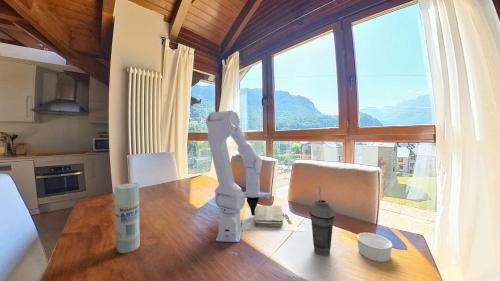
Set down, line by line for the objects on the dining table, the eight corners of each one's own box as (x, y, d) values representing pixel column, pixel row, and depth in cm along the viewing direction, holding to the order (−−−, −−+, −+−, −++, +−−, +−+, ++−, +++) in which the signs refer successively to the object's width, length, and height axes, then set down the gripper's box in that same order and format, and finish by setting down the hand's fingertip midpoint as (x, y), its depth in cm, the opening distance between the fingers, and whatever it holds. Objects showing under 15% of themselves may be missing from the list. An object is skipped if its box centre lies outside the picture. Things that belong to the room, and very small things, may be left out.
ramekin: (350, 246, 61) (350, 232, 61) (377, 244, 62) (377, 231, 62) (369, 265, 53) (369, 249, 52) (400, 263, 53) (400, 247, 53)
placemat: (304, 231, 71) (304, 231, 71) (240, 229, 73) (240, 228, 73) (296, 209, 92) (296, 209, 92) (246, 208, 94) (246, 207, 94)
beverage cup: (318, 260, 54) (318, 190, 54) (304, 246, 61) (304, 184, 61) (340, 256, 56) (340, 188, 56) (324, 242, 63) (324, 182, 63)
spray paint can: (135, 239, 66) (134, 182, 66) (143, 246, 62) (142, 185, 62) (113, 248, 61) (111, 186, 61) (120, 256, 57) (118, 189, 57)
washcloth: (253, 227, 74) (253, 219, 74) (255, 209, 92) (255, 203, 92) (284, 228, 73) (284, 220, 73) (281, 210, 91) (281, 203, 91)
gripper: (269, 181, 86) (270, 211, 86) (237, 180, 87) (238, 210, 88) (269, 185, 79) (270, 217, 79) (234, 184, 80) (235, 216, 81)
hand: (253, 214), depth 83 cm, fingers closed
